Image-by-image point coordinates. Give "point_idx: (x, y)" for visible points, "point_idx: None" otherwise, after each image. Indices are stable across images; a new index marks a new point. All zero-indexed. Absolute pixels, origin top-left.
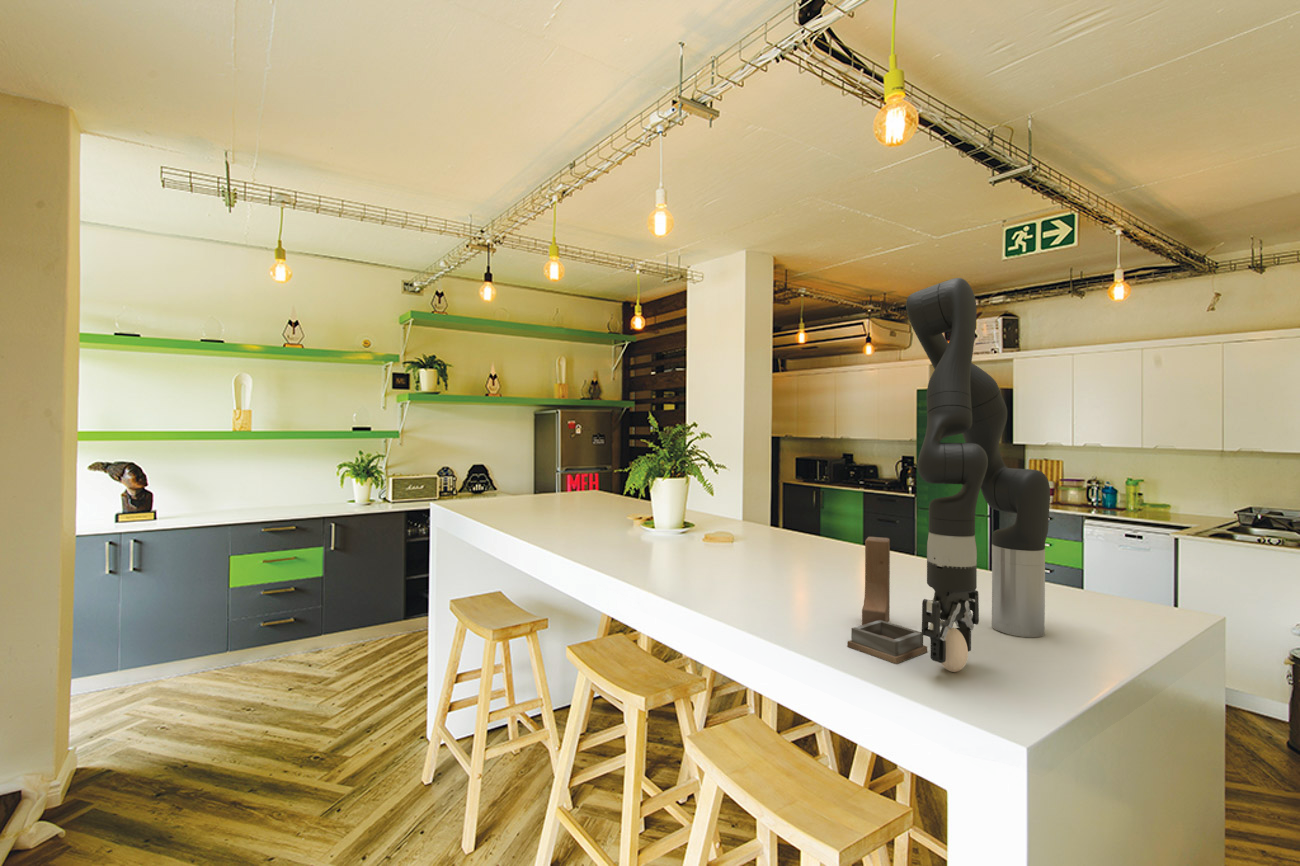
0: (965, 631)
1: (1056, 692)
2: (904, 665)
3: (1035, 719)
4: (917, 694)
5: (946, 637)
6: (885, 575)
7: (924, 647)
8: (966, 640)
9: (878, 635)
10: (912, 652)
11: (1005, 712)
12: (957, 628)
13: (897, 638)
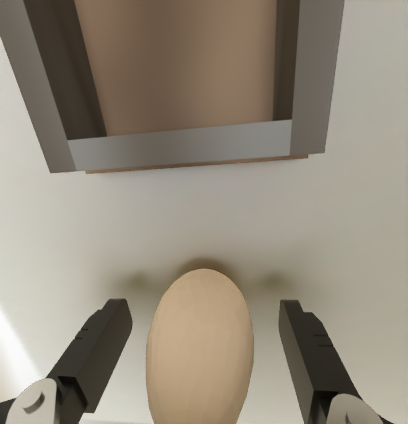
0: (306, 414)
1: (283, 407)
2: (116, 190)
3: (145, 411)
4: (26, 298)
5: (147, 392)
6: None
7: (285, 158)
8: (292, 366)
9: (24, 34)
10: (192, 165)
11: (124, 388)
12: (311, 394)
13: (102, 139)
